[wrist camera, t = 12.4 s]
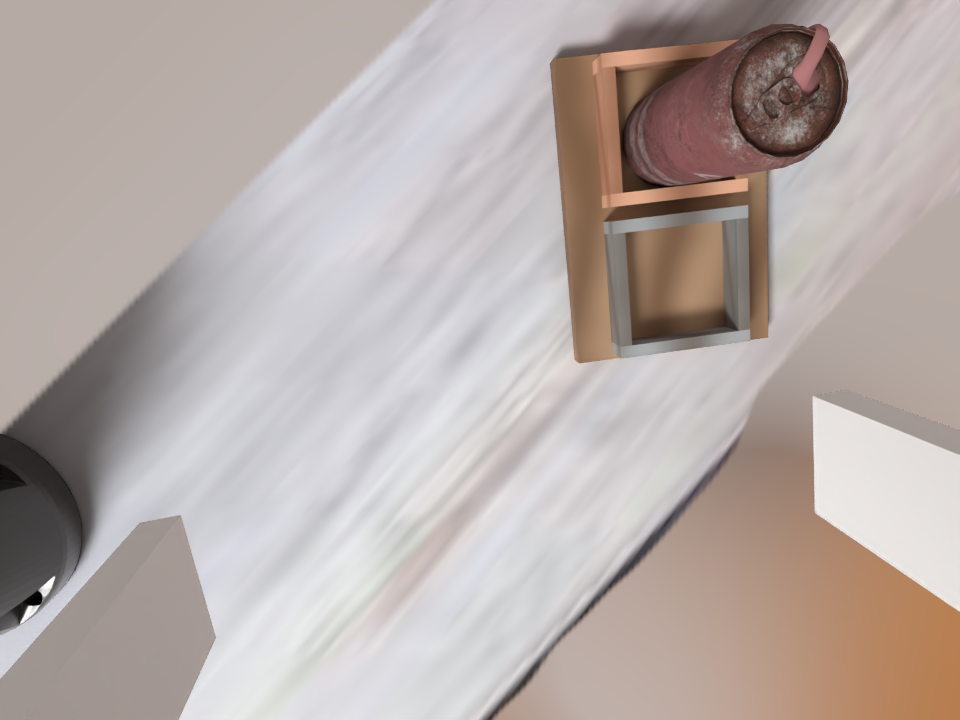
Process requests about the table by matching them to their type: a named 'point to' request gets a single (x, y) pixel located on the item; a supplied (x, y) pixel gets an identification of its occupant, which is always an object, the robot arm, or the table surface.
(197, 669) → the robot arm
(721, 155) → the can
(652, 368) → the table surface
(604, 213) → the board
